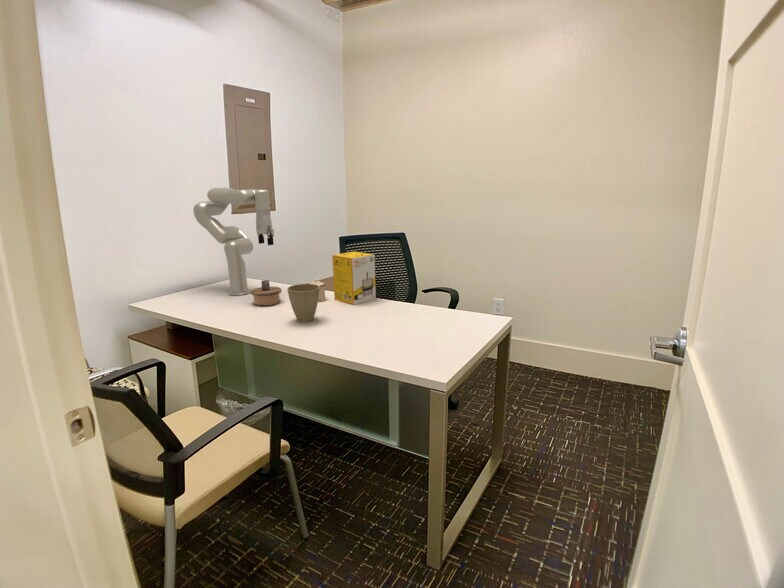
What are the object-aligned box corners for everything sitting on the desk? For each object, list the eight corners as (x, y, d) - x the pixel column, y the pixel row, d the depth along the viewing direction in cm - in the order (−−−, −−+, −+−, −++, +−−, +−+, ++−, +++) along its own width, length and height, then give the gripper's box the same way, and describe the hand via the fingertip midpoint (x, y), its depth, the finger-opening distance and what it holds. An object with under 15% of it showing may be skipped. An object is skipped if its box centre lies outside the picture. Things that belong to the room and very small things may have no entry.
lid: (245, 292, 237) (244, 281, 236) (271, 287, 248) (270, 276, 247) (260, 297, 226) (259, 286, 225) (287, 291, 237) (286, 280, 236)
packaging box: (356, 294, 254) (354, 251, 248) (375, 299, 243) (374, 254, 237) (334, 299, 243) (332, 255, 236) (353, 305, 232) (351, 258, 225)
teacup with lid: (329, 299, 244) (328, 278, 241) (316, 302, 237) (315, 281, 234) (314, 296, 251) (313, 276, 248) (302, 299, 244) (300, 279, 242)
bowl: (251, 303, 239) (249, 292, 237) (271, 298, 247) (270, 288, 246) (262, 307, 230) (261, 296, 229) (283, 302, 239) (282, 291, 237)
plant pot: (286, 325, 202) (283, 291, 198) (293, 315, 216) (291, 283, 212) (318, 324, 201) (316, 291, 197) (323, 314, 216) (322, 283, 212)
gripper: (249, 212, 242) (252, 243, 247) (265, 214, 231) (268, 246, 235) (261, 211, 248) (264, 242, 252) (277, 213, 236) (280, 244, 240)
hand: (266, 244), depth 243 cm, fingers open, 9 cm apart
